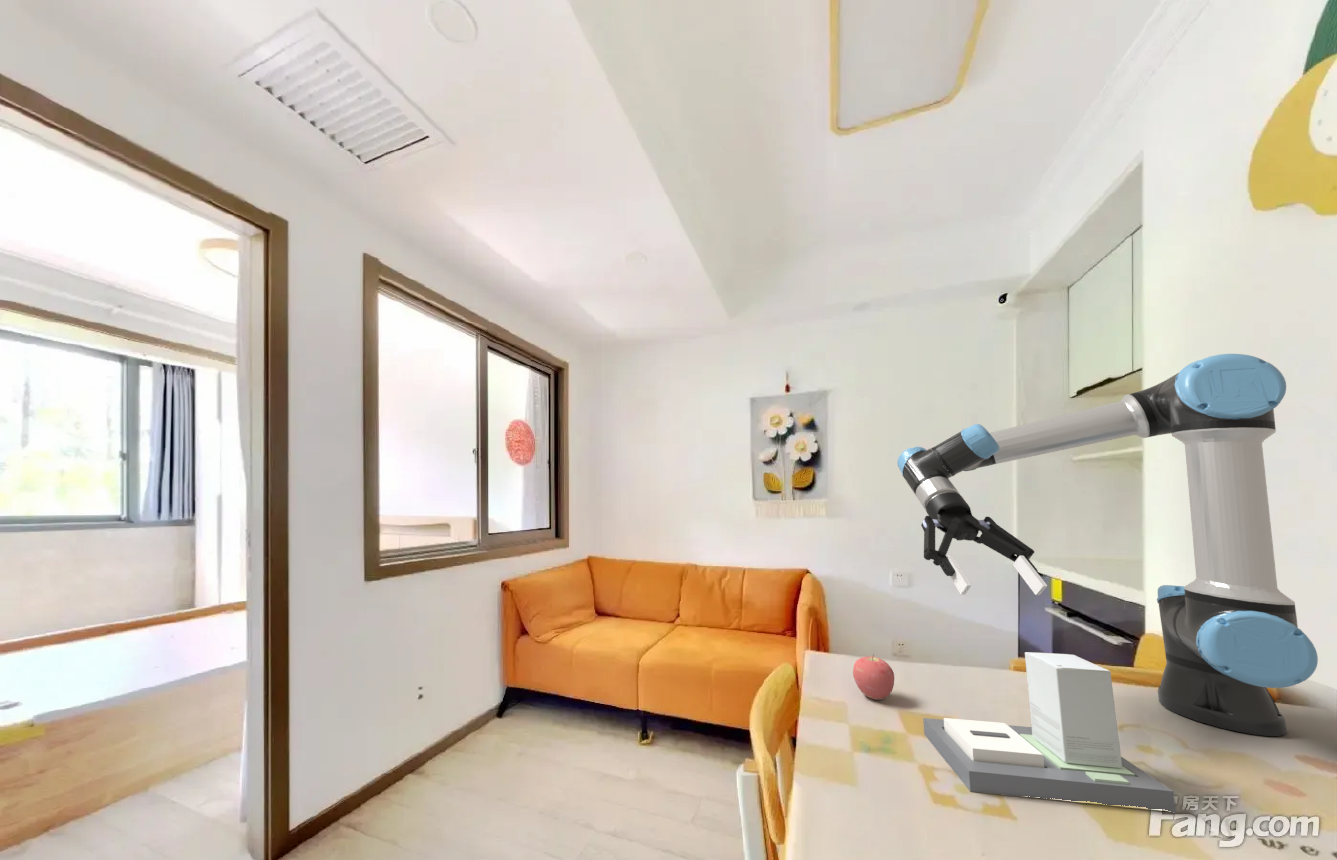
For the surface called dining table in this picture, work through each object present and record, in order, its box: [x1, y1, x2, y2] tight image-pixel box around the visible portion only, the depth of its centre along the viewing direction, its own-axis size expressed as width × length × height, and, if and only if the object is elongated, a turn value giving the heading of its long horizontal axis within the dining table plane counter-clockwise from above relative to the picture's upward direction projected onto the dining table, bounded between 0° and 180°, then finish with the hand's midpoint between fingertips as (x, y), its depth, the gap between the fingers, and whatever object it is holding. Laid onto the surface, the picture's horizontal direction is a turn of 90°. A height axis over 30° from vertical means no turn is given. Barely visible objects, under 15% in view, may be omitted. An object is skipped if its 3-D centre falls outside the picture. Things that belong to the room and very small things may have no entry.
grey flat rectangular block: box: [922, 717, 1177, 814], centre depth 66 cm, size 24×15×4 cm, turn 82°
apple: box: [852, 654, 895, 701], centre depth 89 cm, size 7×7×8 cm
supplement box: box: [1024, 651, 1122, 768], centre depth 67 cm, size 7×7×13 cm
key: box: [1020, 734, 1135, 776], centre depth 65 cm, size 9×9×2 cm
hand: (1004, 590), depth 79 cm, fingers open, 13 cm apart
